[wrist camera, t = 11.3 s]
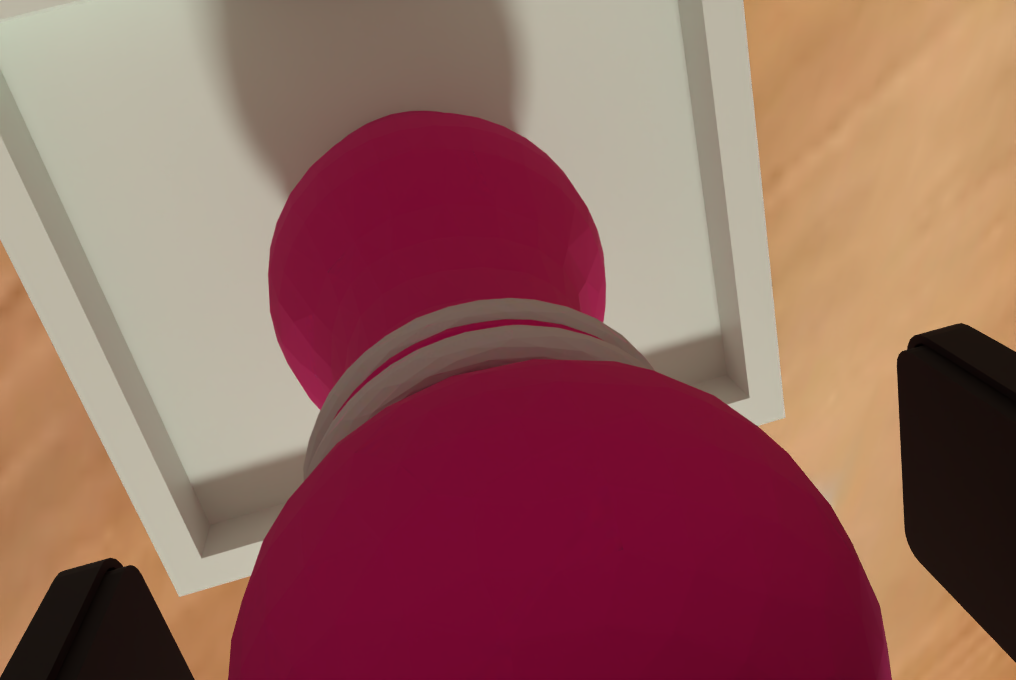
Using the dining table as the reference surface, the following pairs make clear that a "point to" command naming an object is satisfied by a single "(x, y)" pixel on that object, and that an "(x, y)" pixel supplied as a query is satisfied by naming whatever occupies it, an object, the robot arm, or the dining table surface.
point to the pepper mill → (516, 452)
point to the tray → (284, 161)
